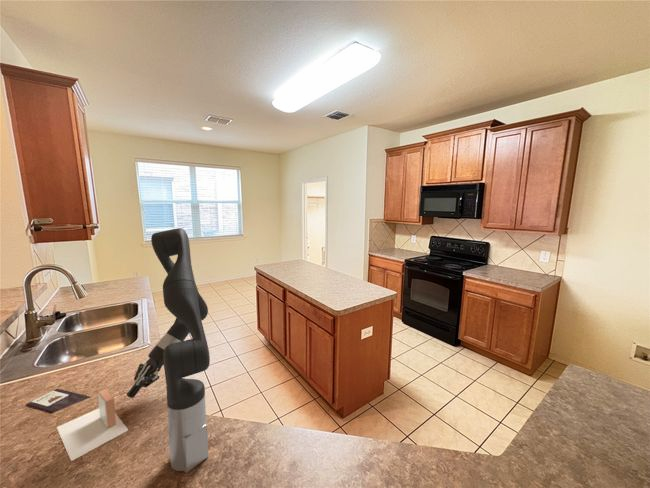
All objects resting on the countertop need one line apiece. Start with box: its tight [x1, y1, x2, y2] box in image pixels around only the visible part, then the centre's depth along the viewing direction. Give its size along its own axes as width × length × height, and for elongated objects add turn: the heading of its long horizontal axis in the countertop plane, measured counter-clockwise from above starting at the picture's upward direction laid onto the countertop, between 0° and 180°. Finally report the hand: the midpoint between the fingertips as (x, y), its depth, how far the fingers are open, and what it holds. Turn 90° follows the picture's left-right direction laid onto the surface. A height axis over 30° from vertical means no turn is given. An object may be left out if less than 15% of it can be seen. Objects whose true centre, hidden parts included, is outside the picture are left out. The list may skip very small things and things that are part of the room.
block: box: [97, 388, 116, 428], centre depth 84 cm, size 8×2×9 cm, turn 54°
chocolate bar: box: [25, 388, 91, 414], centre depth 95 cm, size 9×1×18 cm
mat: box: [56, 407, 129, 462], centre depth 81 cm, size 20×13×1 cm, turn 54°
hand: (129, 396), depth 89 cm, fingers closed
